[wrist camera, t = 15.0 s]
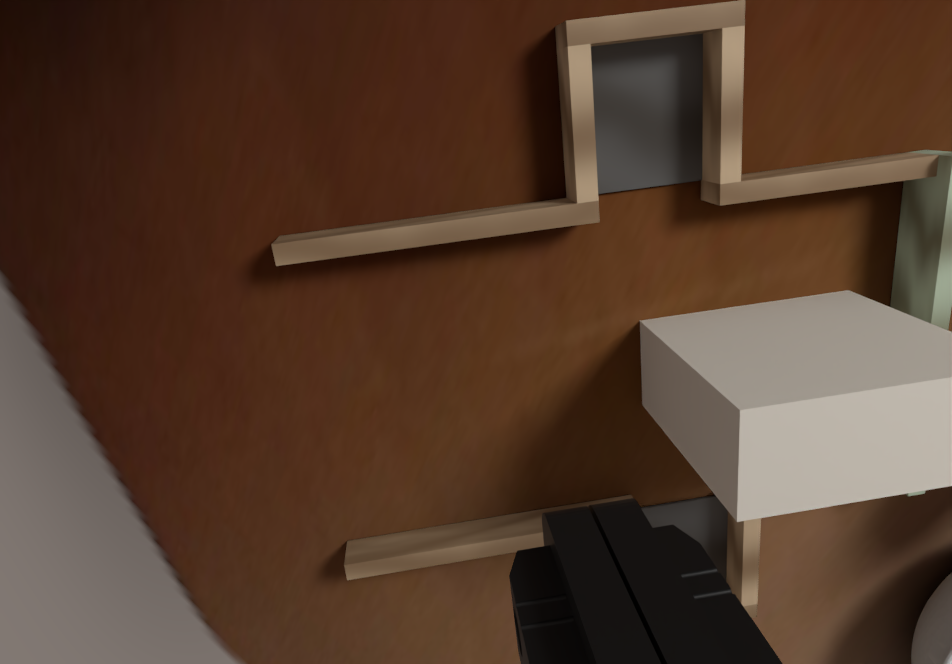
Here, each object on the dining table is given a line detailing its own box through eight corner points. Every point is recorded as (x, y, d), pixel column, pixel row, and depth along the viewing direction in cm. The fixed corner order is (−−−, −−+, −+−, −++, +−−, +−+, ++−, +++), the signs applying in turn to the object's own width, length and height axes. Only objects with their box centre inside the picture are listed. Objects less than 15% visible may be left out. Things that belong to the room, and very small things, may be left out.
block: (639, 320, 41) (740, 410, 29) (848, 290, 42) (1031, 364, 30) (642, 404, 43) (736, 521, 31) (840, 373, 44) (1010, 476, 32)
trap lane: (241, 63, 34) (223, 58, 30) (945, -19, 36) (999, -32, 33) (372, 657, 47) (370, 697, 44) (876, 568, 50) (909, 601, 46)
